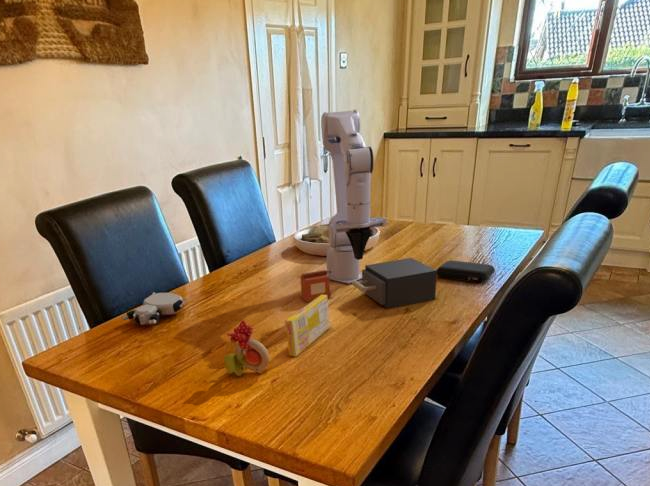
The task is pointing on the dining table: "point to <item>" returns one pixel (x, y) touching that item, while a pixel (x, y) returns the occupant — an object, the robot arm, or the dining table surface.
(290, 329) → the candy box
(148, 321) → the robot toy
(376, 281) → the drawer
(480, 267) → the carrying case
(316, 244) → the bowl
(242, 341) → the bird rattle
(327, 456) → the dining table surface
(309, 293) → the ridged terracotta block
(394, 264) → the cabinet
